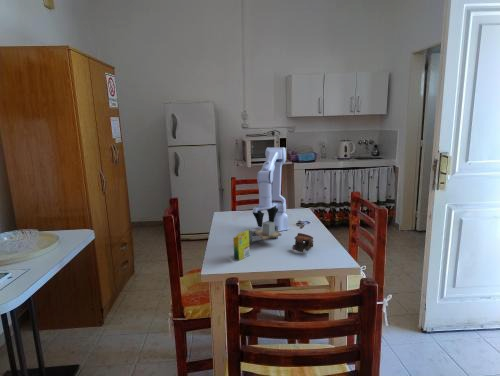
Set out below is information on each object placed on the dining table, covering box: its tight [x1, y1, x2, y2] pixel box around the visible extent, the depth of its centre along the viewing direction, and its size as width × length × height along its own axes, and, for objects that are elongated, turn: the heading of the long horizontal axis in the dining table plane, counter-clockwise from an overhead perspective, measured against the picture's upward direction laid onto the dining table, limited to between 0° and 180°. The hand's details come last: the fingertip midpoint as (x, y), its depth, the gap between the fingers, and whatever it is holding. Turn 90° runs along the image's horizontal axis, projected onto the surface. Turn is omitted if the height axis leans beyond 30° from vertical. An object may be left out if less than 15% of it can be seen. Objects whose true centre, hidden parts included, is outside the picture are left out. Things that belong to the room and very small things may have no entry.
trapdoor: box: [247, 226, 282, 240], centre depth 160 cm, size 12×14×3 cm
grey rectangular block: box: [262, 220, 275, 236], centre depth 156 cm, size 4×4×6 cm
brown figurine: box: [292, 232, 314, 253], centre depth 149 cm, size 12×9×8 cm
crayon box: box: [232, 229, 250, 261], centre depth 142 cm, size 7×3×12 cm, turn 140°
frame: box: [249, 225, 279, 246], centre depth 163 cm, size 16×6×7 cm, turn 118°
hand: (265, 224), depth 155 cm, fingers open, 7 cm apart
